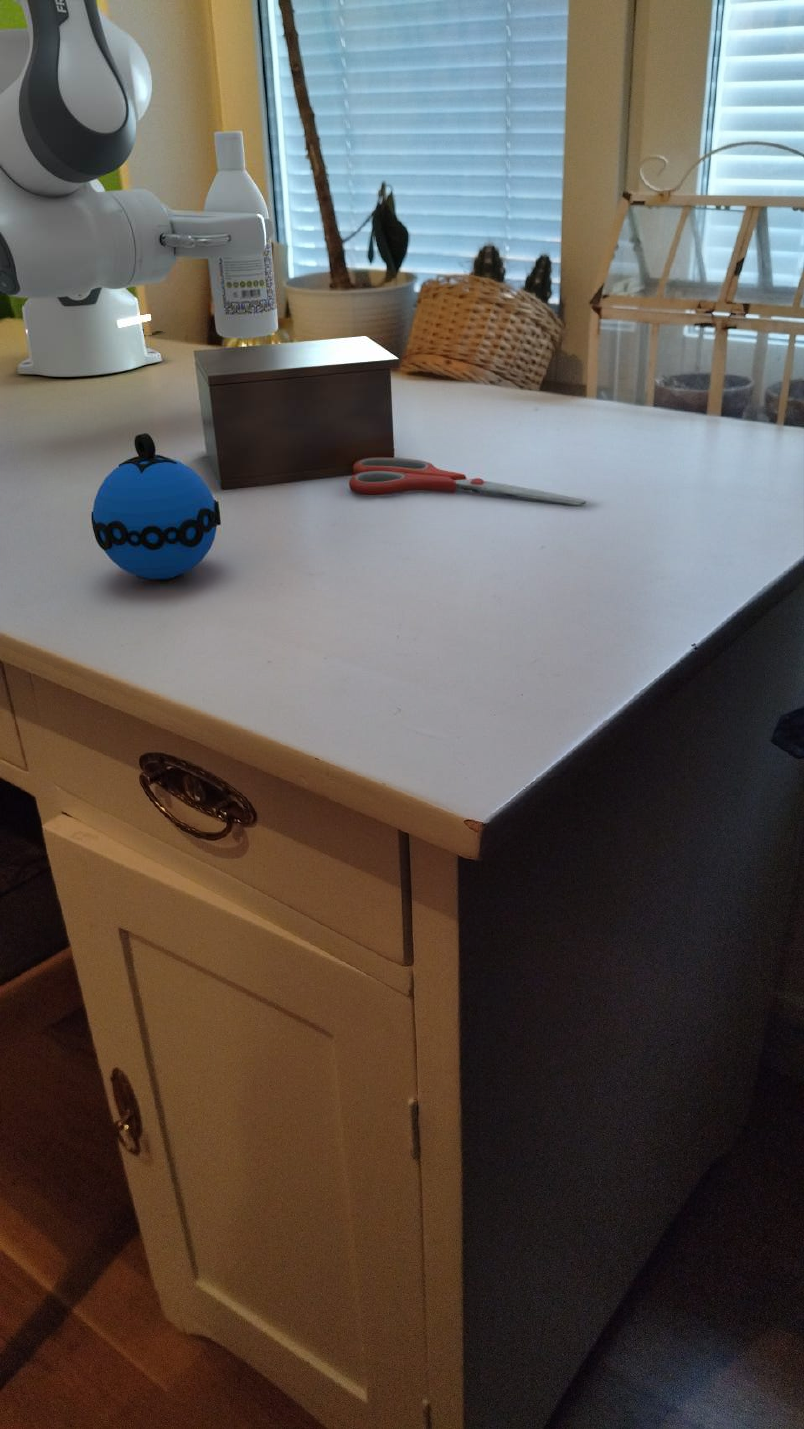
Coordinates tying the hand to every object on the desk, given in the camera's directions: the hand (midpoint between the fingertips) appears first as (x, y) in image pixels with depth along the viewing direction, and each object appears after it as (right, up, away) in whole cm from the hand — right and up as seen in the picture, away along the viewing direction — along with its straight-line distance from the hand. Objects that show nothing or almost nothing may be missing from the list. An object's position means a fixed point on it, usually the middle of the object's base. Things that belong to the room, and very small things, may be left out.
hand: (243, 225), depth 118 cm
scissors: (+22, -34, -25) cm, 48 cm away
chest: (+7, -29, -16) cm, 34 cm away
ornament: (0, -43, -41) cm, 60 cm away
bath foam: (0, -10, +5) cm, 11 cm away
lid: (+7, -21, -20) cm, 30 cm away
